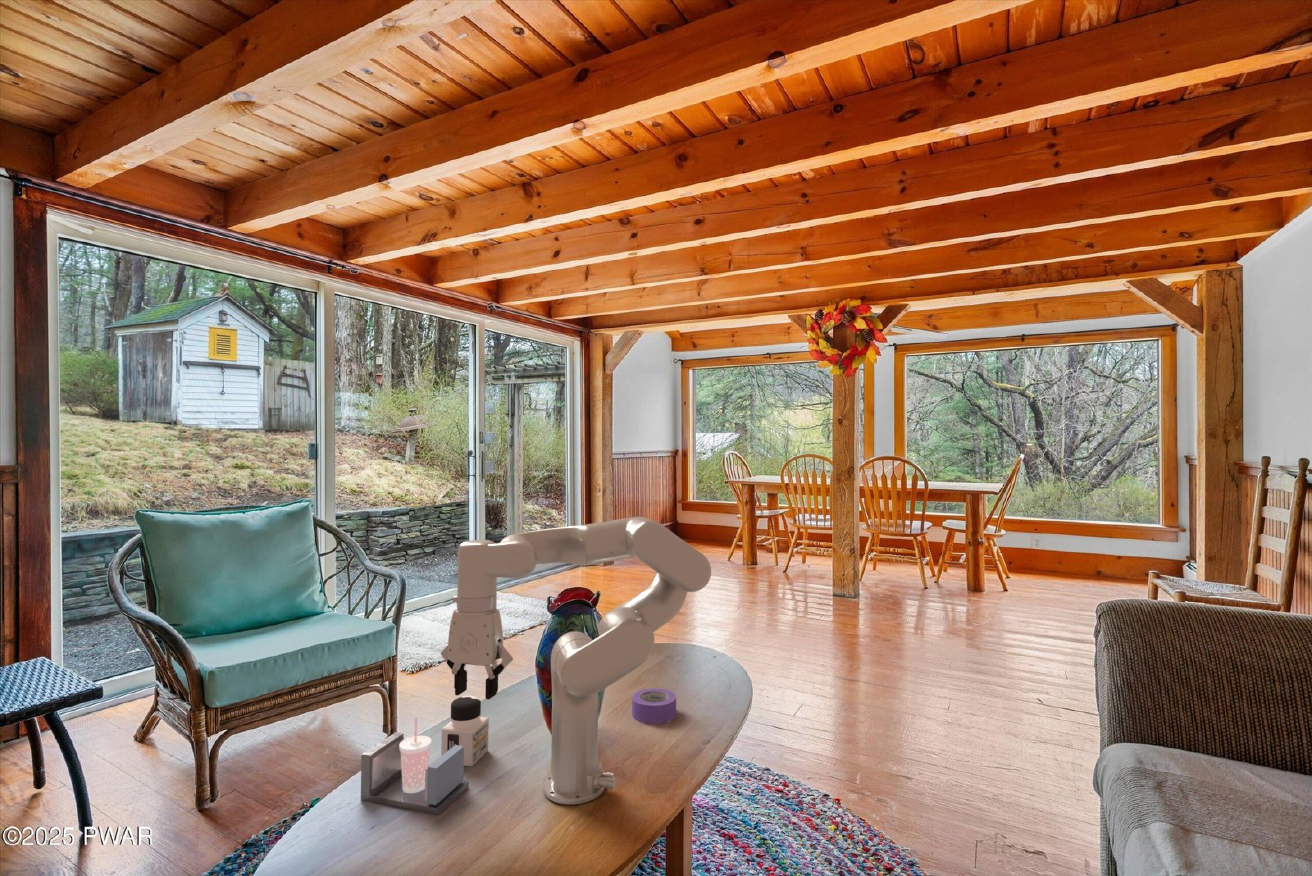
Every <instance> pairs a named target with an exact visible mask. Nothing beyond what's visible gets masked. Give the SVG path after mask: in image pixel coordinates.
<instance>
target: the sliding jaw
mask: <svg viewBox="0 0 1312 876" xmlns="http://www.w3.org/2000/svg"><path fill="white" fill-rule="evenodd" d="M464 768H465V767H464V746H459V745H455V746H454V747H452V748H451V749H450V750H448V751H447V752H446V753H445V754H443V755H442V756H441V755H440V757H438V758H437V759H435V760H434V761H433V762H432V763H430V764H428V767H427V768H426V769H425V801H427V804H432V805H437V804H438V803H439V802H440V801H441V800H442V799H443V798H445V797H446V796H447V795H448V794H449V793H450V792H451V791H452V790H453V789H455V788H456V787H457V786H458V785H459V784H460V783H461V782H462V781H464V771H465V770H464Z"/></svg>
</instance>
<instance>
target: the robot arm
mask: <svg viewBox="0 0 1312 876" xmlns="http://www.w3.org/2000/svg"><path fill="white" fill-rule="evenodd" d="M632 558H637V559H638V560H640V561H641V562H643V563H644V564H645V565H647V567H649V568H650V569H652V570H653V571H654V572H656V573H655V576H654V579H653V581H652V582H651V583H650V585H649V586H647V587H646V588H645V589H644V590H642V591H641V592H639V593H638V594H636V595H635V596H633V597H632V598H629V599H628V600H626V601H625V602H623V603H621V604H620V605H618V606H616V607H615V608H613V609H611V610H610V611H608V612H606V613H605V615H603V616H602V618H601V619H600V621H599V623H598V630H597V631H598V636H597V637H595V638H591V637H590V636H589V635H587V634H586V633H585V632H582V631H577V630H576V631H569V632H567V633H564V634H563V635H561V636H560V637H559V638H558V639H557V640H556V641H555V643H554V645H553V646H552V647H553V648H552V650H551V655H550V674H551V702H552V703H551V704H552V705H551V706H552V707H551V752H550V753H551V755H550V756H551V757H550V758H551V760H550V761H551V762H550V763H551V764H550V768H551V769H550V771H551V772H550V775H548V776H547V777H546V779H544V782H543V787H542V788H543V789H542V790H543V794H544V795H545V796H546V797H545V798H547V799H549V800H550V801H552V802H554V803H557V804H561V805H567V806H568V805H571V806H572V805H581V804H585V803H588V802H591V801H593V800H595V799H596V798H598V797H600V795H602V794H603V792H604V791H605V789H609V790H615V789H616V785H617V779H616V778H615V773H614V772H609V771H604V769H603V762H599V761H598V755H599V753H598V751H599V750H598V749H599V748H598V747H599V745H598V744H599V743H598V742H599V739H598V738H599V693H600V692H602V691H603V690H605V689H607V688H608V687H610V686H612V685H613V684H614V683H616V682H618V681H619V680H620V679H622V678H624V677H625V676H627V675H629V674H630V673H631V672H633V671H634V670H636V669H638V668H639V667H640V666H642V665H643V664H644V663H645V662H646V661H647V659H648V658H649V657H650V655H651V654H652V652H653V649H654V647H655V634H654V633H656V631H658V630H660V629H661V627H664V626H665V625H666V624H667V623H669V622H670V621H671V620H673V619H674V618H675V617H676V616H677V614H678V613H679V612H680V610H681V609H682V608H683V605H684V603H685V601H686V597H687V594H688V592H690V593H695V592H699V591H701V590H702V589H704V588H705V587H707V585H708V584H709V582H710V579H711V577H712V567H711V564H710V561H709V559H708V558H707V557H706V556H705V555H704V554H703V553H702V552H700V551H699V550H698V549H696V548H695V547H694V546H692V545H691V544H690V543H688V542H686V541H685V540H684V539H682V538H680V537H679V536H678V535H676V534H675V533H674V532H673V531H672V530H670V529H669V528H667V527H666V526H664V525H663V524H661V523H660V522H658V521H656V520H654V519H651V518H648V517H645V516H631V517H626V518H620V519H612V520H607V521H606V520H605V521H601V522H593V523H587V524H580V525H569V526H565V527H563V526H562V527H553V528H545V529H537V530H532V531H524V532H518V533H514V534H510V535H508V536H506V537H504V538H502V540H501V541H500V542H499V543H495V541H493V540H490V539H471V540H466V541H463V542H462V543H460V544H459V546H458V549H457V587H456V588H457V595H454V596H452V603H455V604H456V609H454V610H453V611H452V612H453V613H452V615H451V618H450V625H449V631H448V640H447V646H445V648H443V650H441V652H440V656H441V657H442V658H443V659H444V661H445V662H446V664H447V666H448V667H449V669H450V670H451V674H452V675H453V676H454V677H453V678H454V681H453V683H454V685H453V688H454V695H455V696H460V695H462V694H463V693H464V692H466V691H467V689H468V670H467V669H465V668H466V665H469V666H470V665H471V666H480V667H485V671H486V673H487V676H488V678H486V679H485V691H484V692H485V693H484V694H485V695H484V696H485V699H486V700H491V699H493V698H494V697H495V696H496V695H498V694H497V693H498V692H499V675H501V673H502V672H503V671H504V670H505V669H506V668H507V667H508V666H509V665H510V664H511V663H512V662H513V660H514V658H513V656H512V654H511V653H510V652H509V651H508V650H507V649H506V647H505V646H504V634H503V632H504V631H503V623H502V616H501V612H500V609H498V607H497V606H498V605H497V602H498V601H497V598H498V597H497V596H498V595H497V590H498V589H497V588H498V586H497V585H498V584H497V583H498V581H497V579H498V578H503V579H516V580H517V579H522V578H523V579H524V578H526V577H528V576H529V575H531V574H532V573H533V572H534V571H535V570H536V567H537V565H545V564H553V563H555V564H556V563H557V564H558V563H563V564H571V565H576V566H594V565H598V564H603V563H609V562H615V561H620V560H625V559H632ZM500 659H501V662H500V663H499V661H498V660H500Z"/></svg>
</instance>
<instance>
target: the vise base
mask: <svg viewBox="0 0 1312 876" xmlns="http://www.w3.org/2000/svg"><path fill="white" fill-rule="evenodd" d="M404 736H405V735H404V733H403V732H397V731H396V732H394V733H392V734H391V735H389V736H388V737H386V738H384V739H383V740H381V741H380V742H379V743H378V742H377V744H375V745H373V746H372V747H370V748H369V749H368V750H365V752H363V753H361V757H360V759H361V763H360V764H361V766H360V770H361V771H360V801H364V802H369V803H374V804H379V805H384V806H385V805H386V806H389V807H395V808H399V809H400V808H401V809H405V810H411V811H415V812H420V813H425V814H431V815H436V816H440V815H441V814H442V813H443V812H444V811H445V810H446V809H447V808H449V807H450V805H452V804H453V803H454V802H455V801H456V800H457V799H458V798H460V796H461V795H463V794H464V793H465V792H466V791H467V790H468V789H469V786H470V784H469V783H470V782H469V781H465V780H463V781H462V782H461V783H460V784H459V785H458V786H457V787H456V788H455V789H453V790H452V791H451V792H450V793H449V794H448V795H447V796H446V797H445V798H443V799H442V800H441V801H440V802H439V803H438V804H437V805H432V804H427V801H425V789H424V790H422V791H420V792H416V793H405V792H404V791H403V789H402V768H401V751H400V749H399V748H400V747H399V744H400V743H401V742H402V741H403V740H404V739H405V738H404Z"/></svg>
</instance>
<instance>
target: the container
mask: <svg viewBox="0 0 1312 876" xmlns="http://www.w3.org/2000/svg"><path fill="white" fill-rule="evenodd" d="M481 712H482V700H481V699H480V698H479V697H477V696H475V695H464V696H463V695H462V696H460V697H457V698H455V699H453V700H452V702H451V704H450V721H449V722H448V723H447V724H445V725H444V726H443V727H442V729H441V745H440V747H441V749H440V750H441V754H440V757H441V756H442V755H443V754H445V753H446V752H447V751H448V750H450V749H451V748H452V747H454V746H455V745H459V746H464V766H465V767H473V766H474V765H476V763H477V762H478V761H479V760H480V759H481V758H482V757H483V756H484V755H485V754H486V753H487V752H488V751H489V725H490V724H489V723H490V722H489V717H487V716H486V717H485V716H482V715H481V714H482V713H481Z"/></svg>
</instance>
